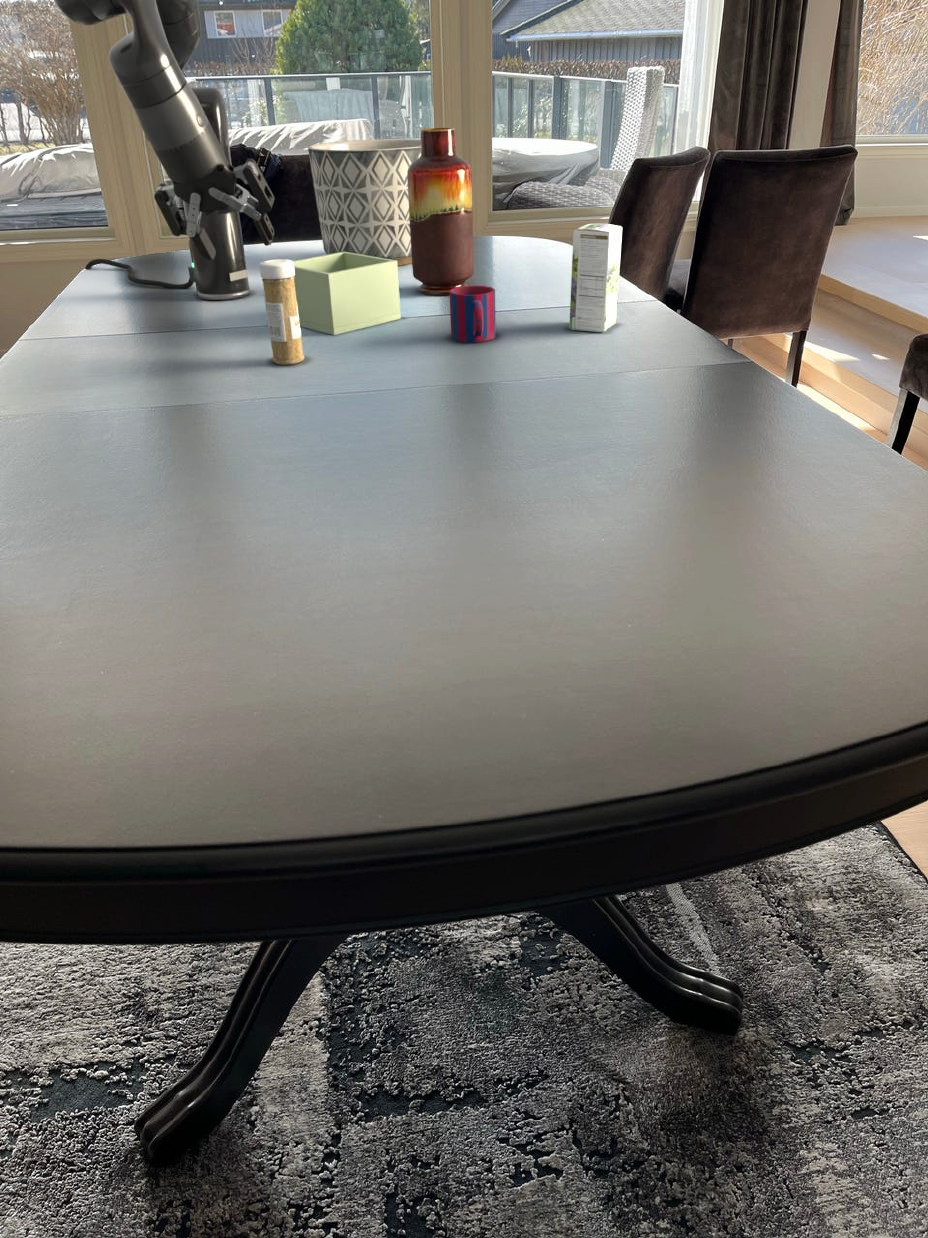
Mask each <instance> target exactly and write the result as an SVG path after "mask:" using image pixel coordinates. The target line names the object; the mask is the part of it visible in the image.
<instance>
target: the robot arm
mask: <svg viewBox="0 0 928 1238" xmlns="http://www.w3.org/2000/svg"><path fill="white" fill-rule="evenodd" d="M53 2H54V3H55V5H56V7H57V8H58V9H59V11H60V12H61V13H62V14H63V15H64V16H65V17H66V18H67V19H69V20H70V21H71V22H73V23H75V24H77V25H81V26H95V25H99V24H102V23H104V22H106V21H110V20H112V19H115V18H118V17H121V16H123V15H126V14H128V15H129V18H130V20H131V24H132V30H131V31H130V32H129V33H128V34H126V35H124V36H122V38H121V39H119V40H118V41H117V42H116V43H115V44H114V45H113V46H112V47H111V48H110V49H109V52H108V62H109V65H110V69H111V70H112V72H113V74H114V76H115V78H116V79H117V81H118V83H119V85H120V87H121V88H122V90H123V92H124V94H125V96H126V98H127V100H128V101H129V103H130V105H131V107H132V109H133V111H134V113H135V116H136V118H137V121H138V122H139V126H140V127H141V129H142V131H143V133H144V136H145V139H146V141H148V142H149V144H150V146H151V147H152V150H153V151H154V154H155V155H156V157H157V158H158V161H159V162H160V164H161V167H162V168H163V170H164V171H165V173H166V175H167V177H168V179H169V180H171V181H172V184H170V185H167V184H165V183H159V184H158V186H157V187H156V190H155V193H154V195H153V198H154V200H155V203H156V204H157V206H158V209H159V210H160V212H161V214H162V216H163V219H164V220H165V222H166V224H167V226H168V228H169V230H170V232H171V234H172V236H175V237H180V236H183V235H185V236H188V239H189V240H188V248H189V254H190V259H191V266H188V267H187V270H188V275H189V278H188V281H187V282H185V283H180V284H177V283H171V282H165V281H161V280H155V279H154V280H153V279H144V278H143V279H142V278H138V277H135V272H134V269H133V266H131V265H130V264H127V263H122V262H118V261H115V260H110V259H104V258H96V259H95V258H94V259H92V260H90V261H89V262H88V263H87V264H86V265H85V268H84V270H91V269H92V268H93V267H94V266H96V265H108V266H113V267H116V268H119V269H125V270H127V272H128V274H127V279H128V280H129V281H130V282H131V283H134V284H138V285H144V286H153V287H161V288H165V289H172V290H173V289H176V290H188V289H190V288H191V287H193V286H194V283H195V289H196V294H197V297H198V298H199V299H202V300H210V301H224V300H225V301H226V300H234V299H239V298H244V297H246V296H249V295H250V294H251V286H250V283H249V275H248V268H247V261H246V255H245V254H246V253H245V248H244V241H243V233H242V232H243V231H242V225H241V219H240V218H241V217H240V213H243V214H245V215H246V216H248V217H249V218H251V219H253V224H254V227H255V229H256V231H257V232H258V234H259V237H260V239H261V240H262V243H263V244H264V246H265V247H267V246H271V245H272V243H273V240H274V237H275V229H274V227H273V225H272V222H271V220H270V218H269V216H268V213H271V211H272V209H273V205H274V203H275V200H276V198H275V195H274V194H273V192H272V190H271V188H270V186H269V183H268V182H267V180H266V179H265V177H264V174H263V172H262V171H261V169H260V168H259V165H258V164H257V162H256V160H255V159H253V158H250V157H249V158H247V159H246V161H245V163H244V164H243V163H242V164H240V165H238V166H235V167H234V166H233V165H232V157H231V148H230V147H231V146H230V136H229V125H228V116H227V108H226V103H225V99H224V96H223V94H222V92H221V90H219V88H218V87H215V86H196V87H195V86H193V87H191V85H190V84H189V83H188V81H187V79H186V78H185V75H184V74H183V71H184V69H185V67H186V66H187V65H188V63H189V61H190V60H191V58H192V56H193V55H194V52H195V50H196V48H197V47H198V45H199V42H200V38H201V35H202V24H203V23H202V17H201V13H200V6H199V1H198V0H53ZM238 179H240V180H242V182H243V183H244V184H245V185H248V186H249V188H250V190H251V191H252V193H253V195H254V196H253V195H251V193H250V191H249V190H247V189H246V188H244V187H243V186H242V185H240V184H238V183H237V182H238ZM177 198H179V199H180V200H181V201H182V204H183V209H184V215H185V219H184V217H183V215H182V213H181V211H180V209H179V207H178V205H177V203H176V200H177Z"/></svg>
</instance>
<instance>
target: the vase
mask: <svg viewBox="0 0 928 1238" xmlns="http://www.w3.org/2000/svg"><path fill="white" fill-rule="evenodd" d="M419 134H420V139H421V156H420V157H419V158H418V159H416V160H415V161H413V162H412V163H411V165H410V166H409V168H408V170H407V181H408V201H409V219H410V237H411V254H412V263H411V265H412V266H411V267H412V268H411V269H412V276H413V278H414V279H415V280H417V281H418V282H420V283H421V285H420V286H419V288H418V291H419V293H420V294H423V295H425V296H426V295H427V296H435V297H436V296H437V297H438V296H439V297H440V296H444V297H445V296H450V294H449V291H450V290H451V289H453V288H456V287H462V286H469V285H468V283H466V281H468V279H470V278H471V277H473V276H474V223H473V222H474V220H473V219H474V218H473V215H474V214H473V180H472V167H471V166H470V164H469V162H468V161H467V160H466V159H464V158H462V157H461V156H459V155H458V154H457V147H456V146H457V145H456V129H455V127H428V128H427V127H426V128H421V129H420V133H419Z"/></svg>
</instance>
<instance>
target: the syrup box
mask: <svg viewBox="0 0 928 1238" xmlns="http://www.w3.org/2000/svg"><path fill="white" fill-rule="evenodd" d="M572 237H573V238H572V256H571V281H570V282H571V283H570V303H569V306H570V307H569V323H568V325H569V327H568V329H569V330H572V331H584V332H595V333H605V332H607V331H608V330H609V329H610V328H612V327H614V326H615V325H616V323H617V314H618V313H617V312H618V301H619V299H618V298H619V297H618V296H619V295H618V294H619V284H620V269H621V255H622V254H621V253H622V240H623V226H622V225H617V224H616V225H615V224H610V223H600V222H599V223H597V222H596V223H587V224H585V225H582V226H580V227H578V228H576V229H574V230H573V235H572Z"/></svg>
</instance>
